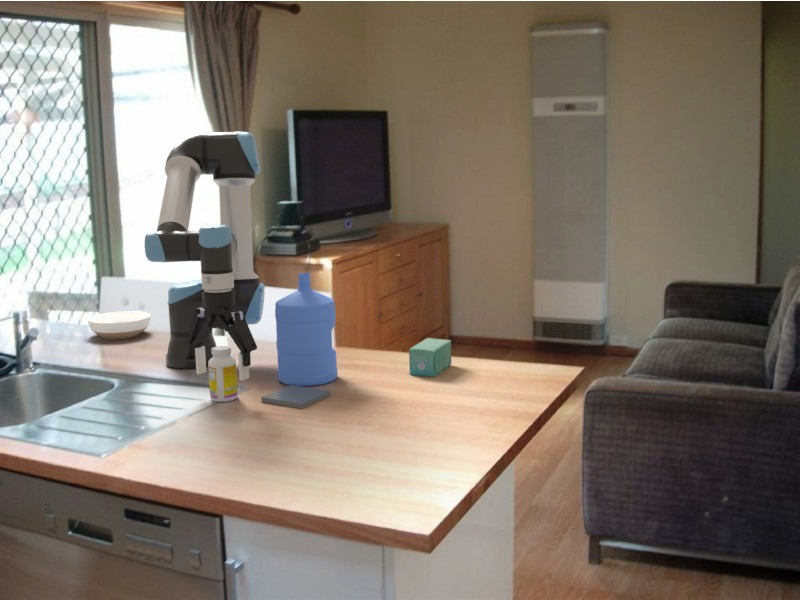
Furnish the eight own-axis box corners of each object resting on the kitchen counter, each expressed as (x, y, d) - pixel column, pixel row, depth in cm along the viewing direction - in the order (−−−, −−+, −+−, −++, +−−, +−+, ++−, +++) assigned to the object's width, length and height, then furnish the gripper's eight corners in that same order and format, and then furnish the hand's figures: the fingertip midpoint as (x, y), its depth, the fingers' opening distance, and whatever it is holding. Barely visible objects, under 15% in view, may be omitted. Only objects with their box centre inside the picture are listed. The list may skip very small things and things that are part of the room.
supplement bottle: (241, 395, 225) (238, 344, 222) (233, 403, 218) (230, 351, 216) (214, 394, 225) (212, 344, 223) (206, 402, 219) (203, 351, 217)
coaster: (261, 401, 219) (261, 397, 218) (291, 389, 229) (291, 384, 229) (301, 408, 213) (301, 403, 213) (330, 395, 223) (330, 390, 223)
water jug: (305, 390, 227) (301, 281, 222) (265, 380, 238) (260, 275, 233) (350, 377, 239) (346, 273, 234) (310, 368, 249) (306, 267, 244)
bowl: (78, 341, 288) (76, 322, 287) (107, 328, 307) (105, 310, 306) (135, 342, 285) (134, 323, 283) (161, 329, 304) (160, 311, 302)
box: (408, 375, 240) (408, 348, 239) (427, 363, 253) (426, 337, 251) (434, 378, 238) (434, 350, 236) (451, 365, 250) (451, 339, 248)
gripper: (168, 289, 220) (173, 373, 223) (248, 295, 208) (253, 385, 211) (189, 284, 226) (194, 367, 230) (269, 290, 214) (273, 378, 217)
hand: (222, 376), depth 220 cm, fingers open, 13 cm apart
